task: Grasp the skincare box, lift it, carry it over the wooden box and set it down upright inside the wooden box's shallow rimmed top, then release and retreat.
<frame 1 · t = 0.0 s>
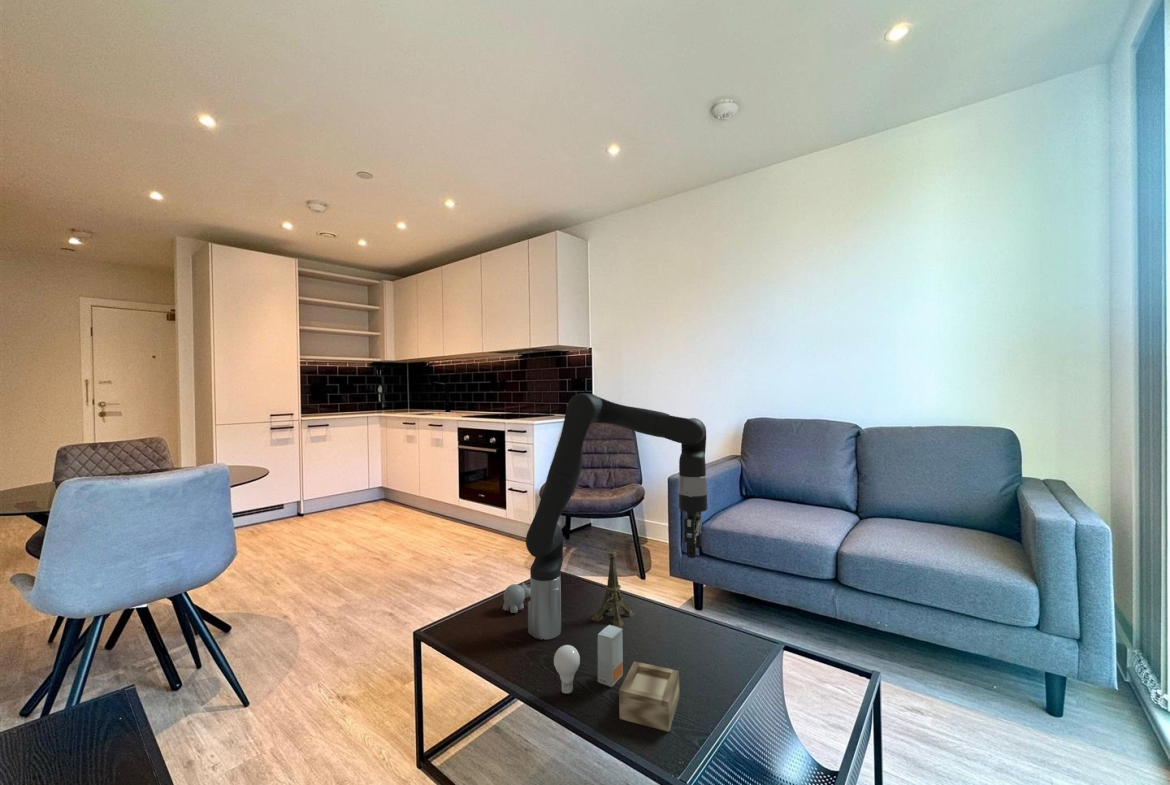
hand: (693, 552, 122), 29 cm above the table, fingers open, 8 cm apart
wooden box: (650, 707, 103), on the table
skincare box: (610, 679, 114), on the table
eiffel tower: (613, 617, 147), on the table
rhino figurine: (519, 608, 155), on the table
lightbulb: (567, 693, 109), on the table
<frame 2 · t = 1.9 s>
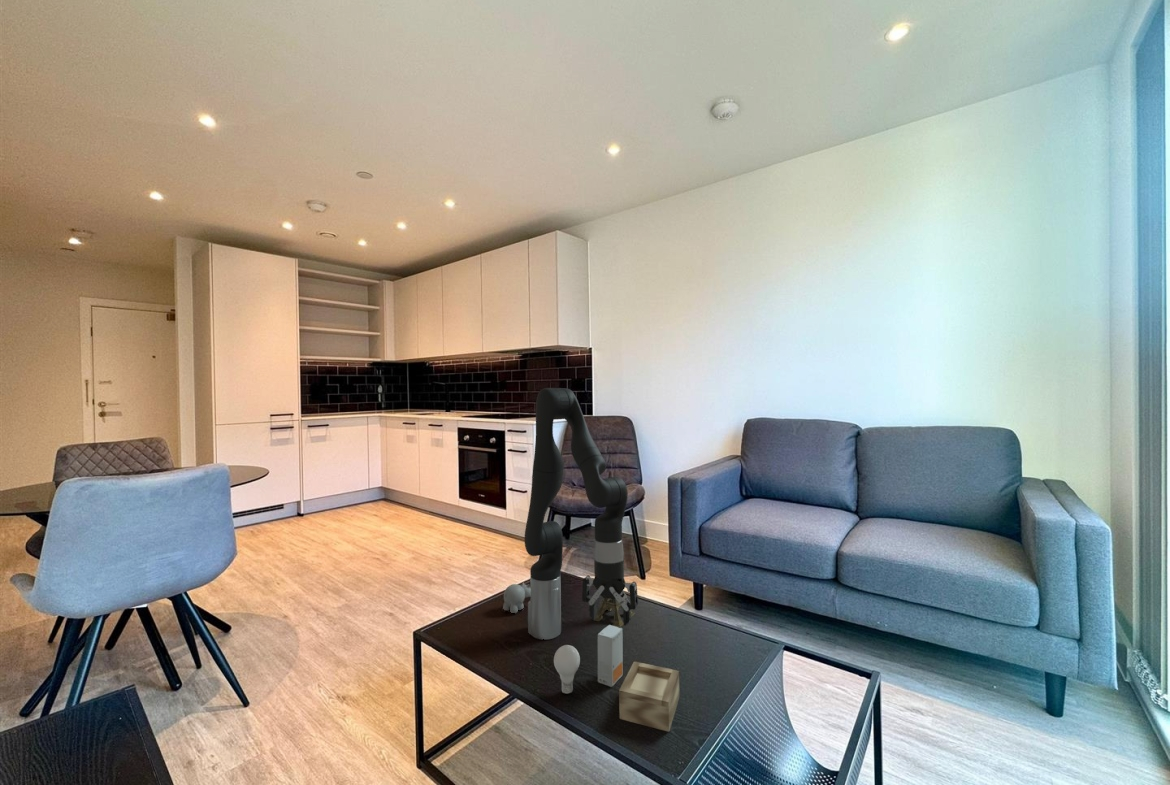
hand: (610, 621, 114), 14 cm above the table, fingers open, 8 cm apart
nothing on the table moved.
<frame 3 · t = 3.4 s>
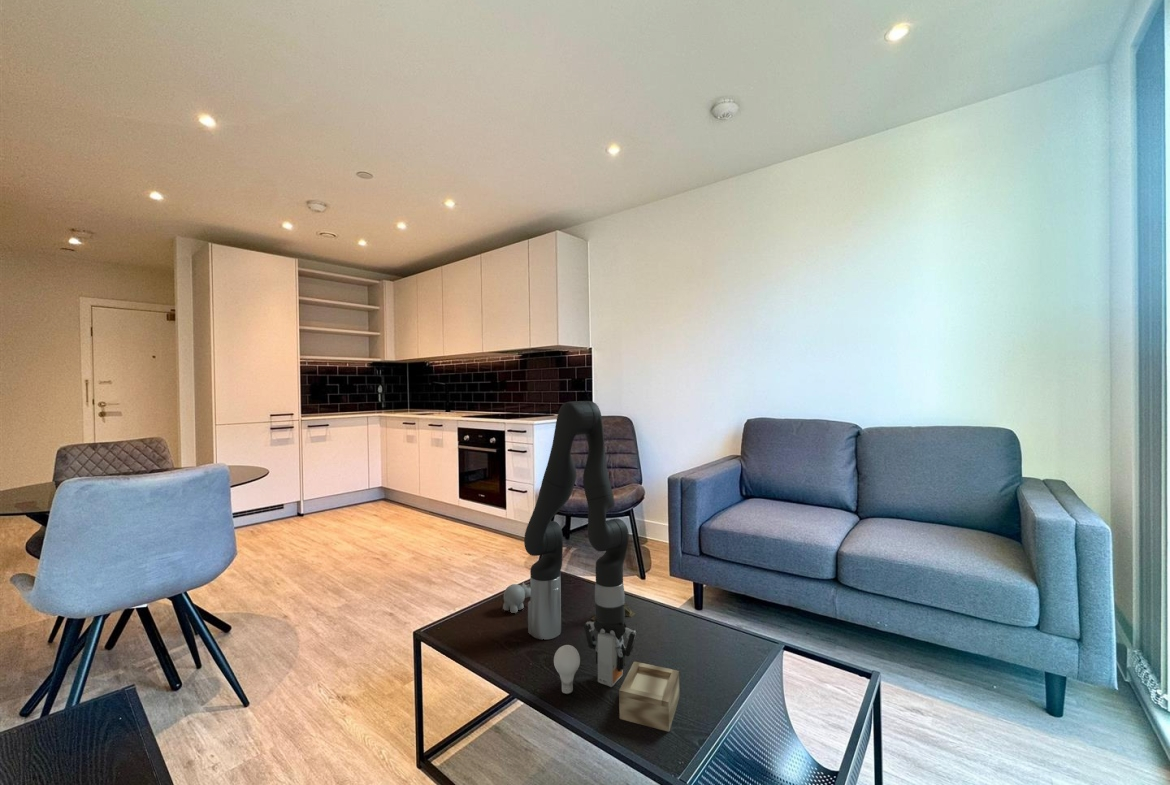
hand: (610, 667, 114), 3 cm above the table, fingers closed on skincare box, 4 cm apart
skincare box: (610, 679, 114), on the table, touching gripper
everything else where it was.
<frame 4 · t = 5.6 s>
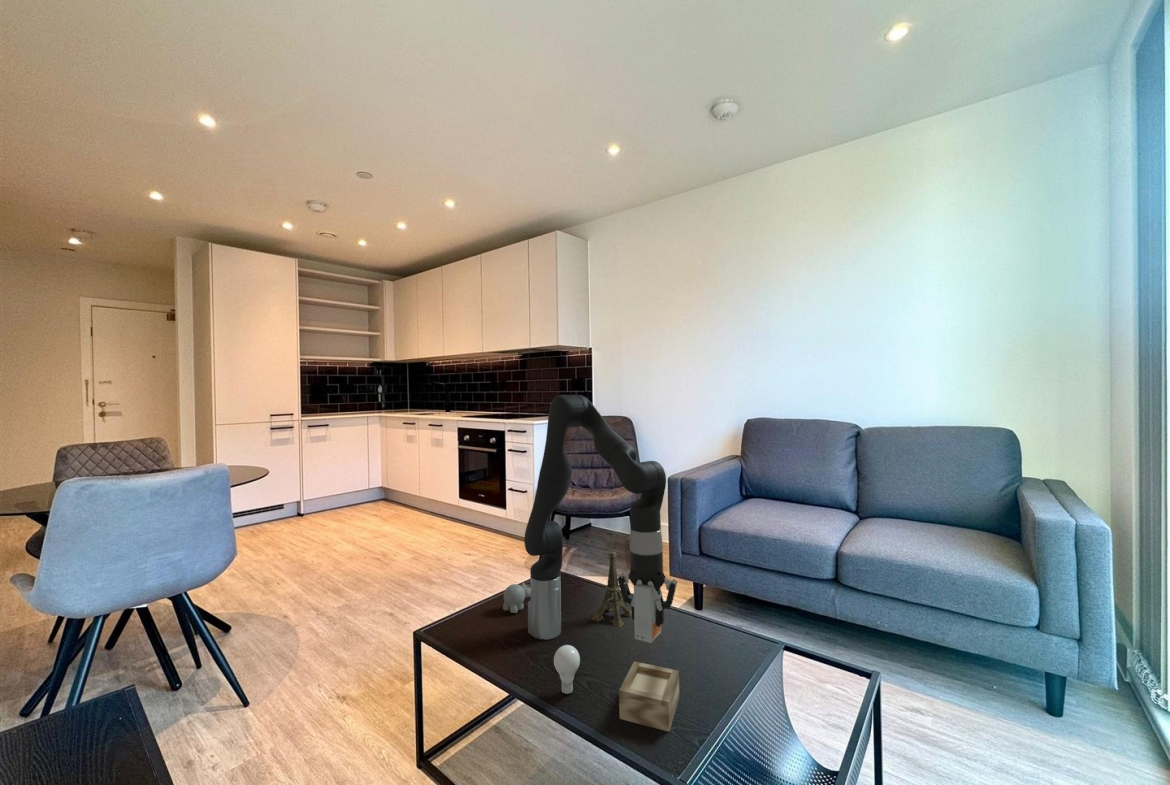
hand: (648, 623, 104), 19 cm above the table, fingers closed on skincare box, 4 cm apart
skincare box: (648, 636, 103), point 16 cm above the table, touching gripper
everything else where it was.
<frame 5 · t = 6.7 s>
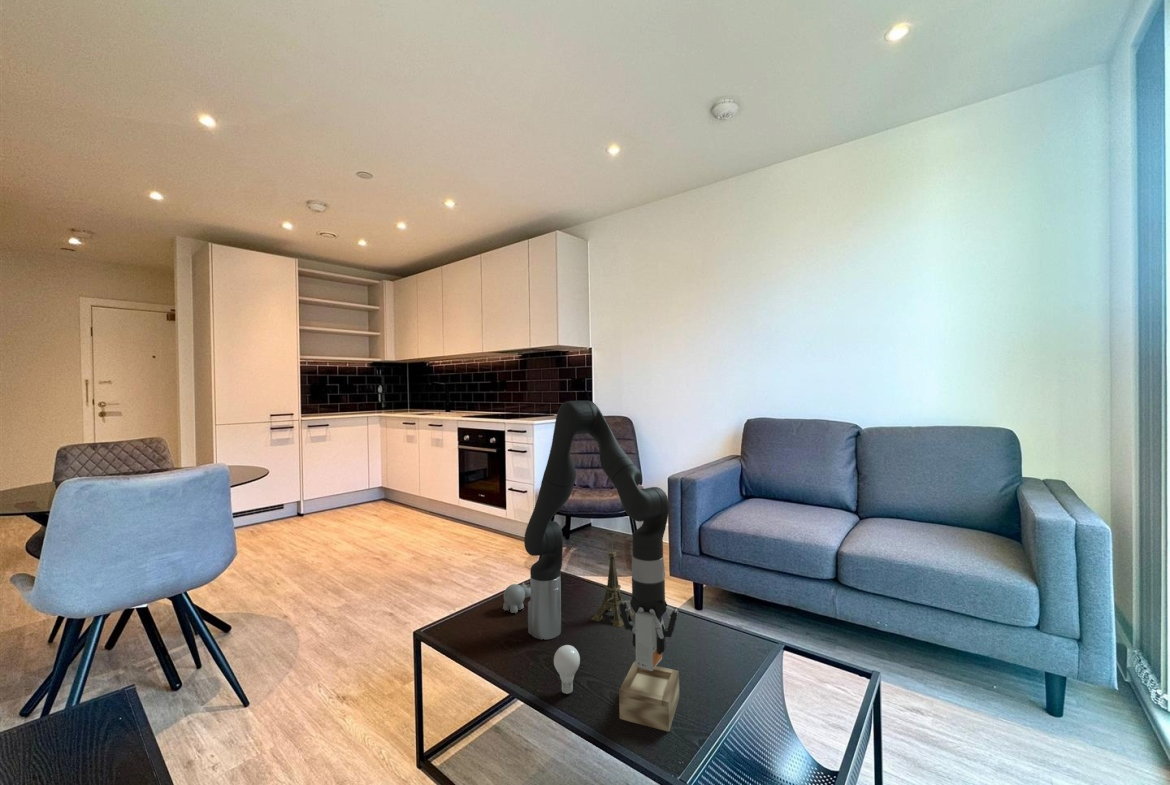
hand: (649, 650, 103), 13 cm above the table, fingers closed on skincare box, 4 cm apart
skincare box: (649, 663, 103), point 10 cm above the table, touching gripper
everything else where it was.
when the fingers open (9 cm above the table, at t = 7.8 s): skincare box drops 1 cm, resting on wooden box.
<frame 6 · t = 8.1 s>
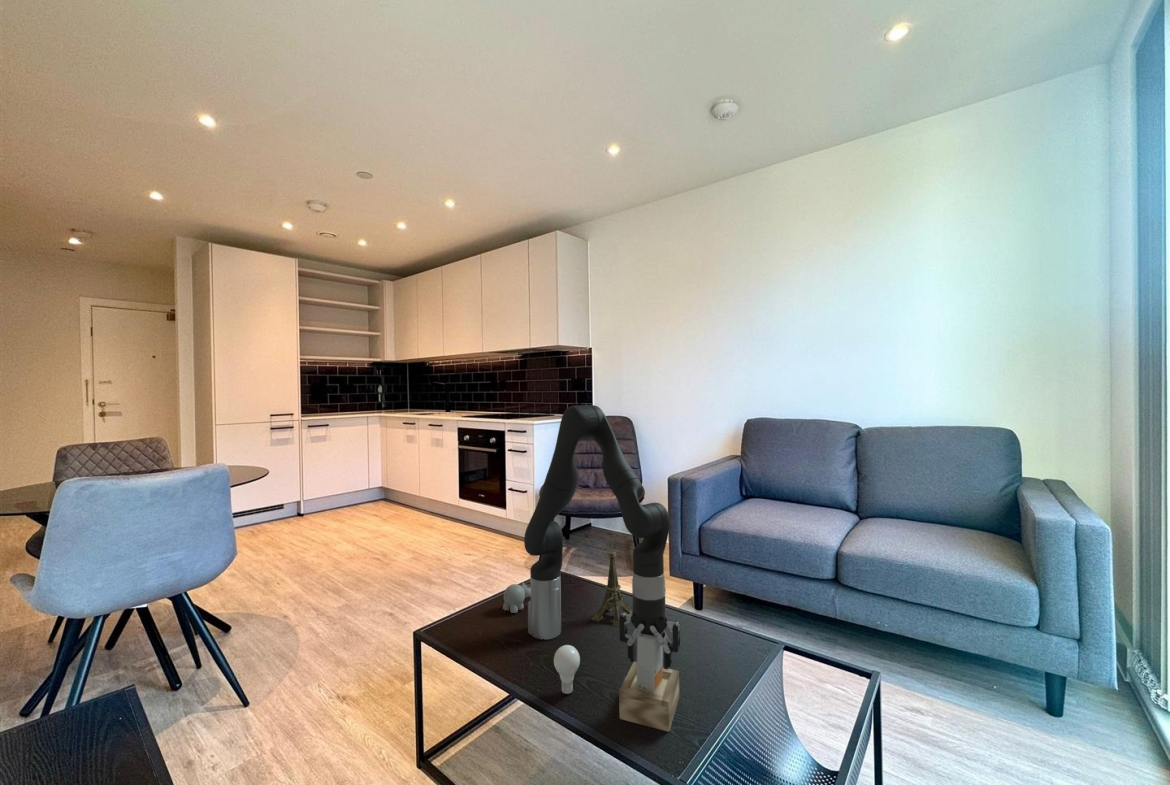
hand: (649, 663, 103), 10 cm above the table, fingers open, 7 cm apart
skincare box: (649, 686, 103), point 5 cm above the table, touching wooden box
everything else where it was.
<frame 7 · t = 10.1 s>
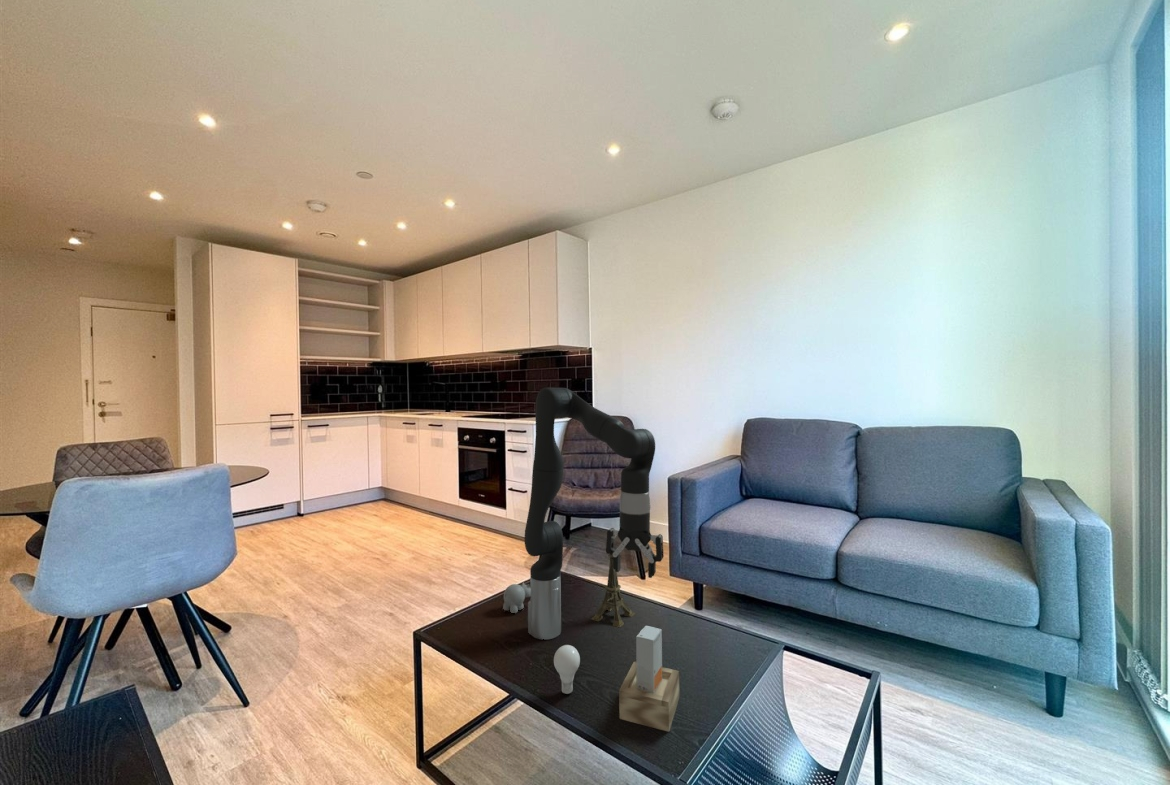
hand: (634, 573, 112), 27 cm above the table, fingers open, 8 cm apart
nothing on the table moved.
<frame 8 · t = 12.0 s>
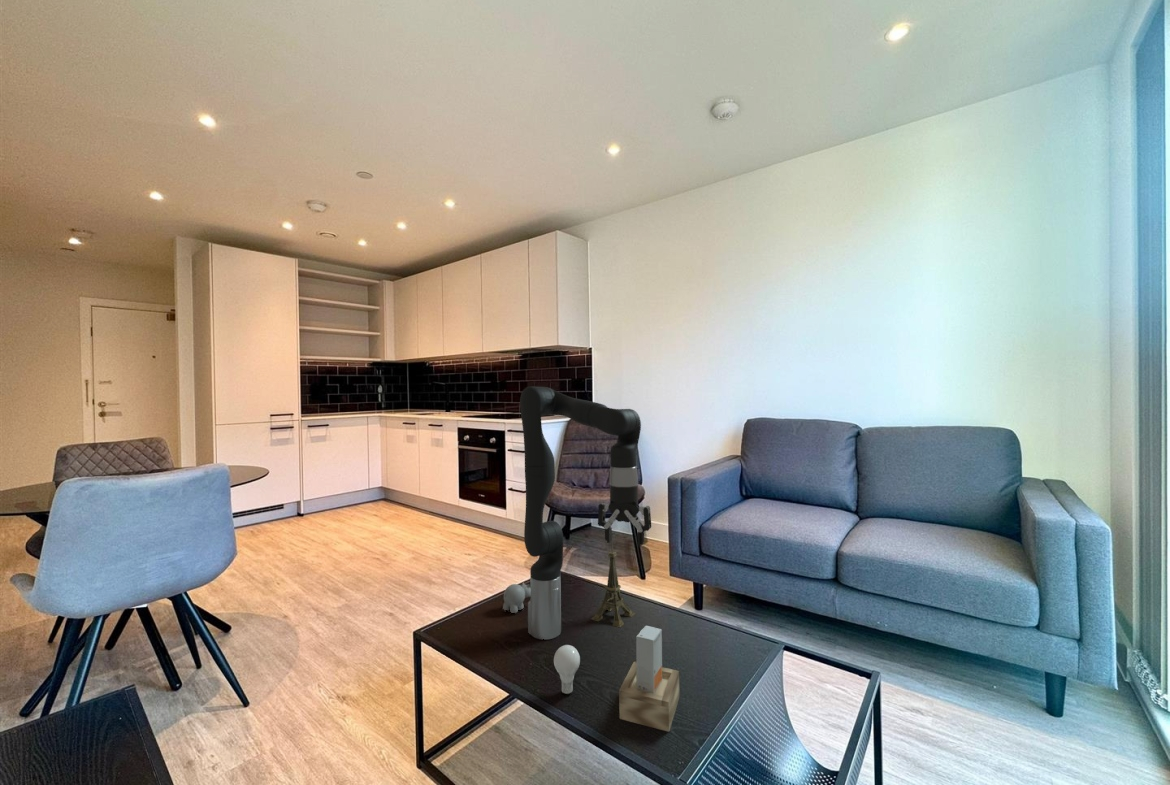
hand: (624, 543, 121), 32 cm above the table, fingers open, 8 cm apart
nothing on the table moved.
at the end: skincare box inside the target area on the wooden box (0.1 cm from its centre), point 4.8 cm above the wooden box's base; skincare box tilted 0°; the gripper is holding nothing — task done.
